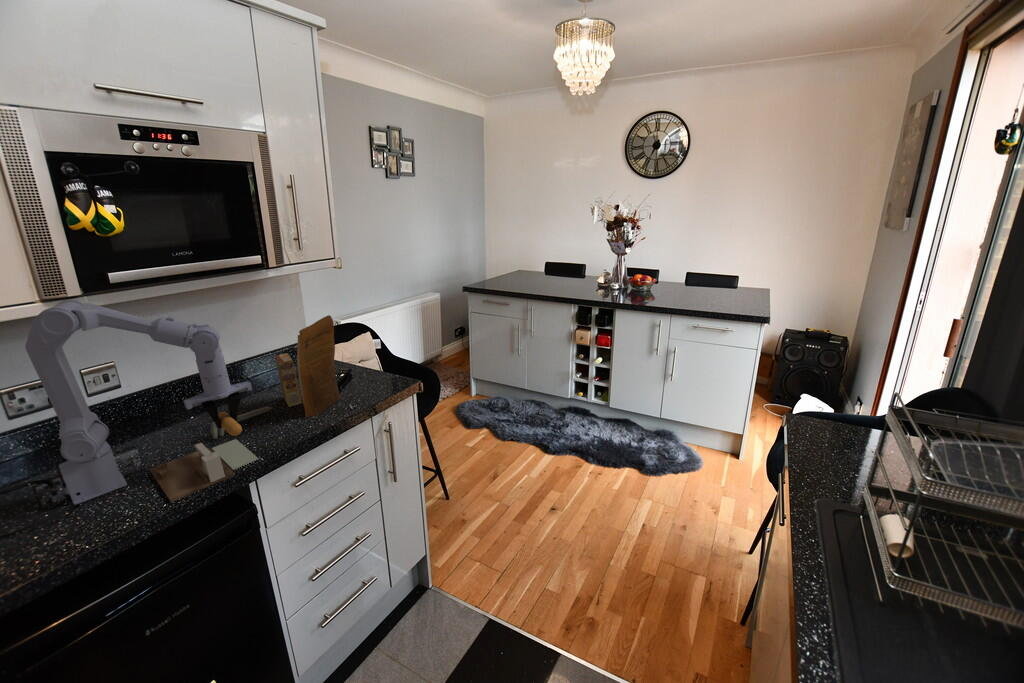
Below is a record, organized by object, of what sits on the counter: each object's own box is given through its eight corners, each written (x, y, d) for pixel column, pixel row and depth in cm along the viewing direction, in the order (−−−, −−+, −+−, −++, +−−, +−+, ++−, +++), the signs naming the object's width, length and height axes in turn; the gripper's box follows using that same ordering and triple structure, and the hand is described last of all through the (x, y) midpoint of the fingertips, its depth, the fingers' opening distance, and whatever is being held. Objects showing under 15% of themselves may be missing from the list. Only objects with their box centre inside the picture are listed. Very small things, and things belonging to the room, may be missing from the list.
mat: (233, 470, 113) (232, 469, 113) (212, 449, 124) (211, 448, 124) (258, 460, 118) (258, 458, 117) (236, 440, 128) (235, 438, 128)
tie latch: (210, 482, 107) (205, 461, 106) (196, 466, 114) (190, 446, 113) (225, 476, 109) (219, 455, 108) (210, 460, 117) (204, 441, 115)
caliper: (216, 440, 129) (211, 420, 127) (213, 440, 129) (208, 420, 127) (273, 409, 147) (269, 391, 145) (270, 408, 148) (266, 390, 146)
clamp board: (170, 502, 102) (167, 492, 102) (150, 471, 115) (147, 462, 114) (234, 475, 111) (232, 466, 111) (209, 449, 124) (206, 441, 123)
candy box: (302, 403, 149) (293, 359, 145) (288, 407, 147) (278, 362, 142) (296, 395, 156) (287, 352, 152) (282, 398, 154) (273, 355, 149)
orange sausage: (213, 422, 120) (213, 411, 119) (226, 420, 122) (226, 409, 121) (230, 438, 112) (230, 427, 112) (243, 436, 114) (244, 424, 114)
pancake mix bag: (352, 394, 155) (339, 313, 146) (315, 421, 137) (297, 331, 129) (335, 393, 156) (321, 313, 148) (296, 419, 139) (278, 330, 130)
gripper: (184, 388, 106) (199, 440, 110) (251, 369, 116) (262, 418, 120) (176, 381, 111) (190, 431, 115) (241, 363, 121) (252, 410, 125)
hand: (226, 424), depth 118 cm, fingers closed on orange sausage, 3 cm apart
